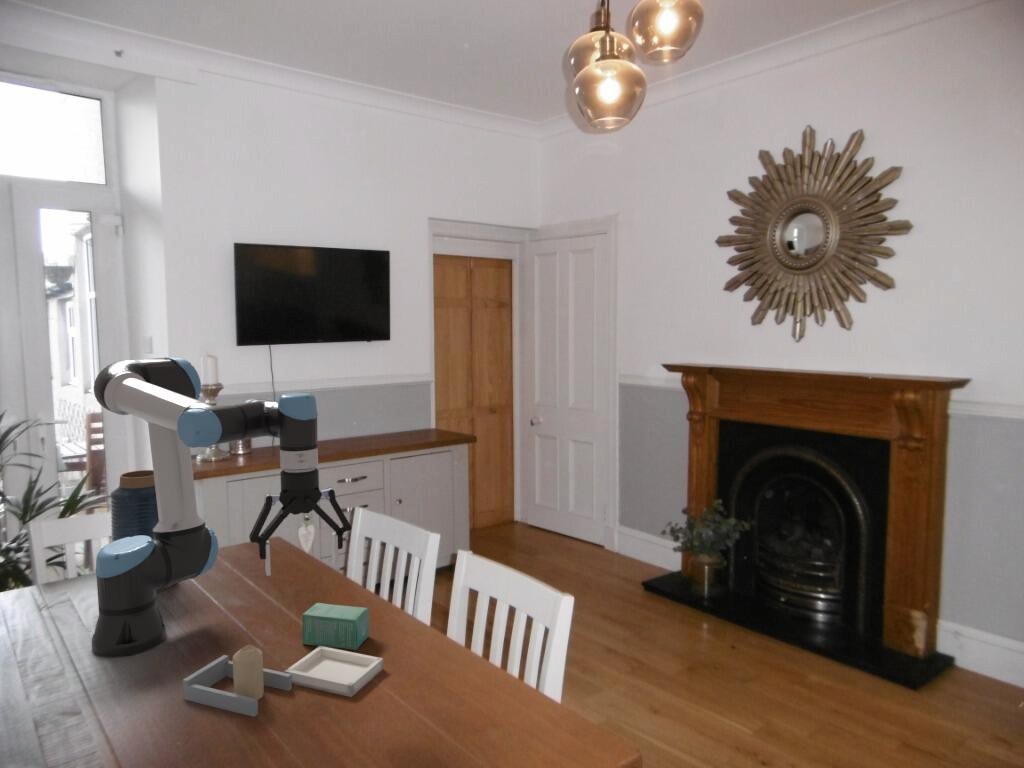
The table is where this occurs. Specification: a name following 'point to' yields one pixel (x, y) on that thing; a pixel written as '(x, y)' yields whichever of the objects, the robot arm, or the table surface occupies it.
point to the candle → (248, 672)
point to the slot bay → (217, 670)
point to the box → (335, 626)
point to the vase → (134, 507)
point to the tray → (335, 670)
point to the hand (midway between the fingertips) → (302, 568)
